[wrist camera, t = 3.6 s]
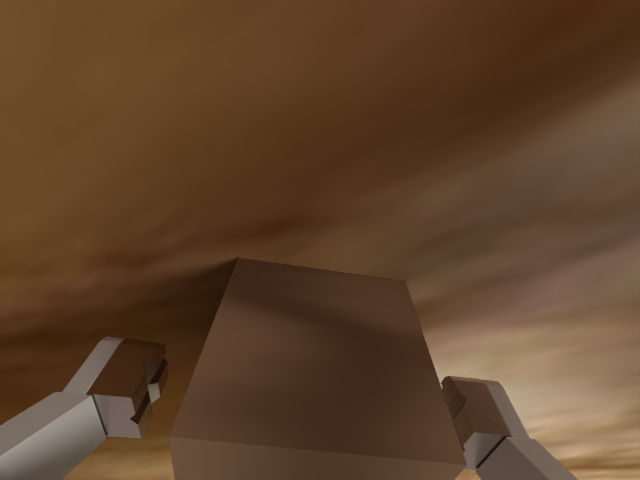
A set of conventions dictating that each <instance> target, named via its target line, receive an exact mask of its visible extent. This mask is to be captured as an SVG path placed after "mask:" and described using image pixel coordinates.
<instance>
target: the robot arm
mask: <svg viewBox="0 0 640 480" xmlns="http://www.w3.org/2000/svg"><path fill="white" fill-rule="evenodd" d="M165 354H166V347H165V344H162V343H154V342H147V341H140V340H133V339H126V338H118V337H109V336H106V337H105V338H103V339H102V340H101V341H99V343H98V344H97V345H96V347H95V348H94V349H93V351H92V352H91V353H90V355H89V356H88V357H87V359H86V360H85V361H84V363H83V364H82V365H81V367H80V368H79V370H78V371H77V372H76V374H75V375H74V376H73V378H72V379H71V380H70V382H69V383H68V384H67V386H66V387H65V388H64V390H63V391H62V392H54V393H52V394H51V395H49V396H47V397H46V398H44V399H42V400H41V401H39V402H38V403H36V404H34V405H33V406H31V407H29V408H28V409H26V410H24V411H23V412H21V413H20V414H18V415H16V416H15V417H13V418H11V419H10V420H8V421H6V422H5V423H3V424H1V425H0V480H61V479H62V478H63V477H64V476H65V475H67V474H68V473H69V472H70V471H71V470H72V469H73V468H74V467H75V466H77V465H78V464H79V463H80V462H81V461H82V460H83V459H84V458H85V457H87V456H88V455H89V454H90V453H91V452H92V451H93V450H94V449H95V448H97V447H98V446H99V445H100V444H101V443H102V442H103V441H104V440H105V439H106V436H109V437H125V438H142V435H143V433H144V431H145V429H146V427H147V425H148V422H149V420H150V418H151V416H152V414H153V411H152V405H151V404H152V403H153V402H154V401H155V400H157V399H158V398H159V397H160V396H161V394H162V391H163V389H164V387H165V383H166V380H167V376H168V362H167V361H166V360H165V359H164V356H165ZM441 384H442V386H443V388H442V392H443V395H444V398H445V401H446V404H447V407H448V409H449V412H450V415H451V418H452V421H453V424H454V427H455V430H456V433H457V436H458V439H459V442H460V445H461V448H462V451H463V454H464V457H465V460H466V463H467V466H466V467H465V468H466V469H474V470H476V473H477V474H478V476H479V477H480V478H481V480H578V479H577V478H576V477H575V476H574V475H573V474H571V473H570V472H569V471H568V470H567V469H566V468H565V467H564V466H563V465H562V464H561V463H560V462H559V461H557V460H556V459H555V458H554V457H553V456H552V455H551V454H550V453H549V452H548V451H547V450H546V449H545V448H544V447H542V446H541V445H540V444H539V443H538V442H537V441H536V440H533V439H530V438H529V436H528V434H527V432H526V430H525V428H524V426H523V425H522V423H521V421H520V419H519V417H518V415H517V413H516V411H515V409H514V407H513V406H512V404H511V402H510V400H509V398H508V396H507V394H506V392H505V390H504V389H503V387H502V385H501V384H500V383H499V382H497V381H490V380H480V379H475V378H465V377H455V376H447V377H445V378H444V379H443V381H442V382H441Z"/></svg>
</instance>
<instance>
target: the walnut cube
mask: <svg viewBox="0 0 640 480" xmlns="http://www.w3.org/2000/svg"><path fill="white" fill-rule="evenodd" d="M169 443H170V449H171V456H172V462H173V469H174V476H175V480H455V478H456V477H457V476H458V475H459V474H460V473H461V472H462V470H463V469H464V468H465V467H466V466H467V463H466V460H465V457H464V454H463V451H462V448H461V445H460V442H459V439H458V436H457V433H456V430H455V427H454V424H453V421H452V418H451V415H450V412H449V409H448V407H447V404H446V401H445V398H444V395H443V392H442V389H441V386H440V383H439V380H438V377H437V374H436V371H435V368H434V365H433V362H432V359H431V356H430V353H429V350H428V348H427V345H426V342H425V339H424V336H423V333H422V330H421V327H420V324H419V321H418V318H417V315H416V312H415V309H414V306H413V303H412V300H411V297H410V294H409V292H408V289H407V286H406V283H405V281H399V280H392V279H385V278H378V277H371V276H364V275H357V274H350V273H343V272H336V271H328V270H321V269H314V268H307V267H300V266H293V265H286V264H279V263H272V262H265V261H258V260H251V259H244V258H238V259H237V262H236V264H235V267H234V270H233V272H232V275H231V277H230V280H229V283H228V285H227V288H226V290H225V293H224V295H223V298H222V301H221V303H220V306H219V308H218V311H217V313H216V316H215V319H214V321H213V324H212V326H211V329H210V331H209V334H208V337H207V339H206V342H205V344H204V347H203V350H202V352H201V355H200V357H199V360H198V362H197V365H196V368H195V370H194V373H193V375H192V378H191V380H190V383H189V386H188V388H187V391H186V393H185V396H184V398H183V401H182V404H181V406H180V409H179V411H178V414H177V417H176V419H175V422H174V424H173V427H172V429H171V432H170V435H169Z"/></svg>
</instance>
